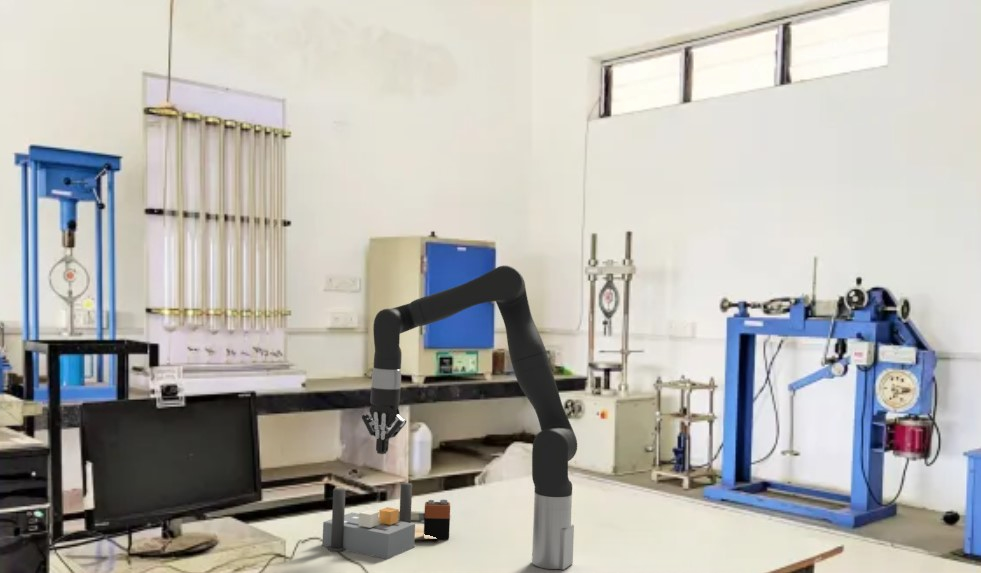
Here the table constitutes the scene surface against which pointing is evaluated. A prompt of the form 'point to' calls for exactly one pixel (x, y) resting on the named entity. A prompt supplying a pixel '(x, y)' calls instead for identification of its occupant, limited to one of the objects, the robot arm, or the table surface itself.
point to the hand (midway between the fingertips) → (381, 453)
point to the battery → (437, 519)
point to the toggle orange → (388, 516)
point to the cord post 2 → (405, 502)
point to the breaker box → (373, 537)
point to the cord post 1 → (337, 520)
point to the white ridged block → (368, 518)
